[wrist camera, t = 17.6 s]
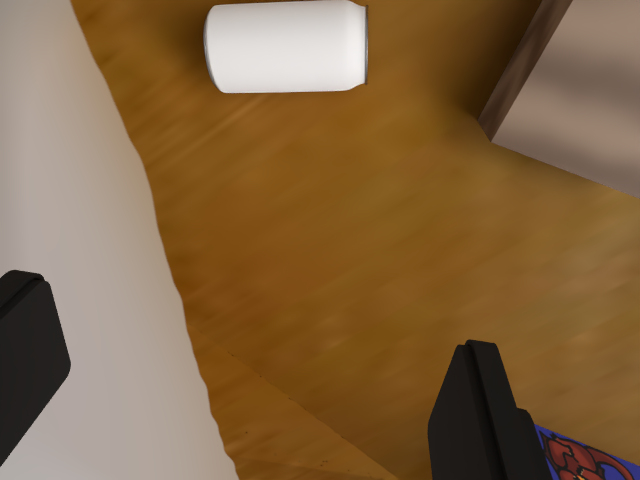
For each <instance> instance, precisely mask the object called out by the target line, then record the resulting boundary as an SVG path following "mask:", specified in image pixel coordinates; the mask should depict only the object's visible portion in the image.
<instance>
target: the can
mask: <svg viewBox="0 0 640 480" xmlns="http://www.w3.org/2000/svg"><path fill="white" fill-rule="evenodd" d="M203 41H204V52H205V58H206V64H207V68H208V72H209V75H210V77H211V80H212V82H213V84H214V85H215V87H216V88H218V89H220V90H221V91H222V92H223V93H265V92H311V91H343V90H349V89H351V88H353V87H355V86H357V85H359V84H363V83H365V84H366V85H367V65H368V5H366V7H363V6H359V5H357V4H355V3H353V2H351V1H348V0H321V1H295V2H271V3H248V4H227V5H215V6H213V7H212V8H211V10H209V11H208V13H207V15H206V17H205V22H204V31H203Z"/></svg>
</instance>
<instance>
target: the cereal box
mask: <svg viewBox="0 0 640 480" xmlns="http://www.w3.org/2000/svg"><path fill="white" fill-rule="evenodd" d="M534 425H535V424H534ZM535 428H536V431H537V434H538V437H539V440H540V443H541V446H542V448H543V451H544V454H545V457H546V460H547V463H548V466H549V469H550V472H551V474H552V477H553V480H640V466H637V465H635V464H632V463H630V462H627V461H625V460H622V459H620V458H617V457H615V456H612V455H610V454H607V453H605V452H602V451H600V450H597V449H595V448H592V447H590V446H587V445H585V444H582V443H580V442H577V441H575V440H572V439H570V438H567V437H565V436H562V435H560V434H558V433H555V432H553V431H550V430H548V429H545V428H543V427H540V426H538V425H535Z"/></svg>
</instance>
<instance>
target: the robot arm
mask: <svg viewBox="0 0 640 480" xmlns="http://www.w3.org/2000/svg"><path fill="white" fill-rule="evenodd" d="M70 367H71V362H70V358H69V354H68V350H67V347H66V343H65V339H64V336H63V331H62V328H61V324H60V320H59V316H58V313H57V309H56V306H55V302H54V298H53V294H52V290H51V286H50V284H49V283H48V282H47V281H45V280H44V277H43V276H42V275H41V274H37V273H31V272H25V271H19V270H11V271H9V272H7V273H6V274H4V275H3V276H2V277H1V278H0V467H1V466H2V464H3V463H4V462H5V460H6V459H7V457H8V456H9V455H10V453H11V452H12V451H13V449H14V448H15V447H16V445H17V444H18V443H19V441H20V440H21V439H22V437H23V436H24V435H25V433H26V432H27V430H28V429H29V428H30V426H31V425H32V424H33V422H34V421H35V420H36V418H37V417H38V416H39V414H40V413H41V412H42V410H43V409H44V408H45V406H46V405H47V403H48V402H49V401H50V399H51V398H52V397H53V395H54V394H55V393H56V391H57V390H58V389H59V387H60V386H61V385H62V383H63V382H64V381H65V379H66V378H67V376H68V374H69V371H70ZM428 442H429V451H430V460H431V469H432V477H433V480H553V477H552V474H551V472H550V469H549V466H548V463H547V460H546V457H545V454H544V451H543V448H542V446H541V443H540V440H539V437H538V434H537V431H536V428H535V425H534V422H533V420H532V418H531V416H530V414H529V413H528V412H527V411H526V410H524V409H520V408H517V407H516V403H515V400H514V397H513V394H512V391H511V388H510V385H509V382H508V378H507V375H506V372H505V369H504V366H503V363H502V360H501V357H500V353H499V350H498V348H497V346H496V344H495V343H489V342H483V341H476V340H467V341H466V343H465V345H458V346H457V347H456V349H455V352H454V355H453V357H452V360H451V363H450V365H449V368H448V371H447V373H446V376H445V379H444V381H443V384H442V387H441V389H440V392H439V395H438V397H437V400H436V403H435V405H434V408H433V411H432V413H431V416H430V419H429V423H428Z"/></svg>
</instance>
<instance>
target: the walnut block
mask: <svg viewBox="0 0 640 480" xmlns="http://www.w3.org/2000/svg"><path fill="white" fill-rule="evenodd" d="M477 121H478V123H479V124H480V126H481V127H482V129H483V130H484V132H485V134H486V135H487V137H488V138H489V140H490V142H492V143H494V144H497V145H500V146H502V147H505V148H508V149H510V150H513V151H515V152H518V153H521V154H523V155H526V156H529V157H531V158H534V159H536V160H539V161H542V162H544V163H547V164H550V165H552V166H555V167H558V168H560V169H563V170H565V171H568V172H571V173H573V174H576V175H579V176H581V177H584V178H587V179H589V180H592V181H594V182H597V183H600V184H602V185H605V186H608V187H610V188H613V189H615V190H618V191H621V192H623V193H626V194H629V195H631V196H634V197H637V198H639V199H640V0H542V2H541V4H540V6H539V8H538V10H537V11H536V13H535V15H534V17H533V19H532V21H531V22H530V24H529V26H528V28H527V30H526V32H525V33H524V35H523V37H522V39H521V41H520V43H519V44H518V46H517V48H516V50H515V52H514V54H513V56H512V57H511V59H510V61H509V63H508V65H507V67H506V68H505V70H504V72H503V74H502V76H501V78H500V79H499V81H498V83H497V85H496V87H495V89H494V90H493V92H492V94H491V96H490V98H489V100H488V102H487V103H486V105H485V107H484V109H483V111H482V113H481V114H480V116H479V118H478V120H477Z"/></svg>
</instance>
